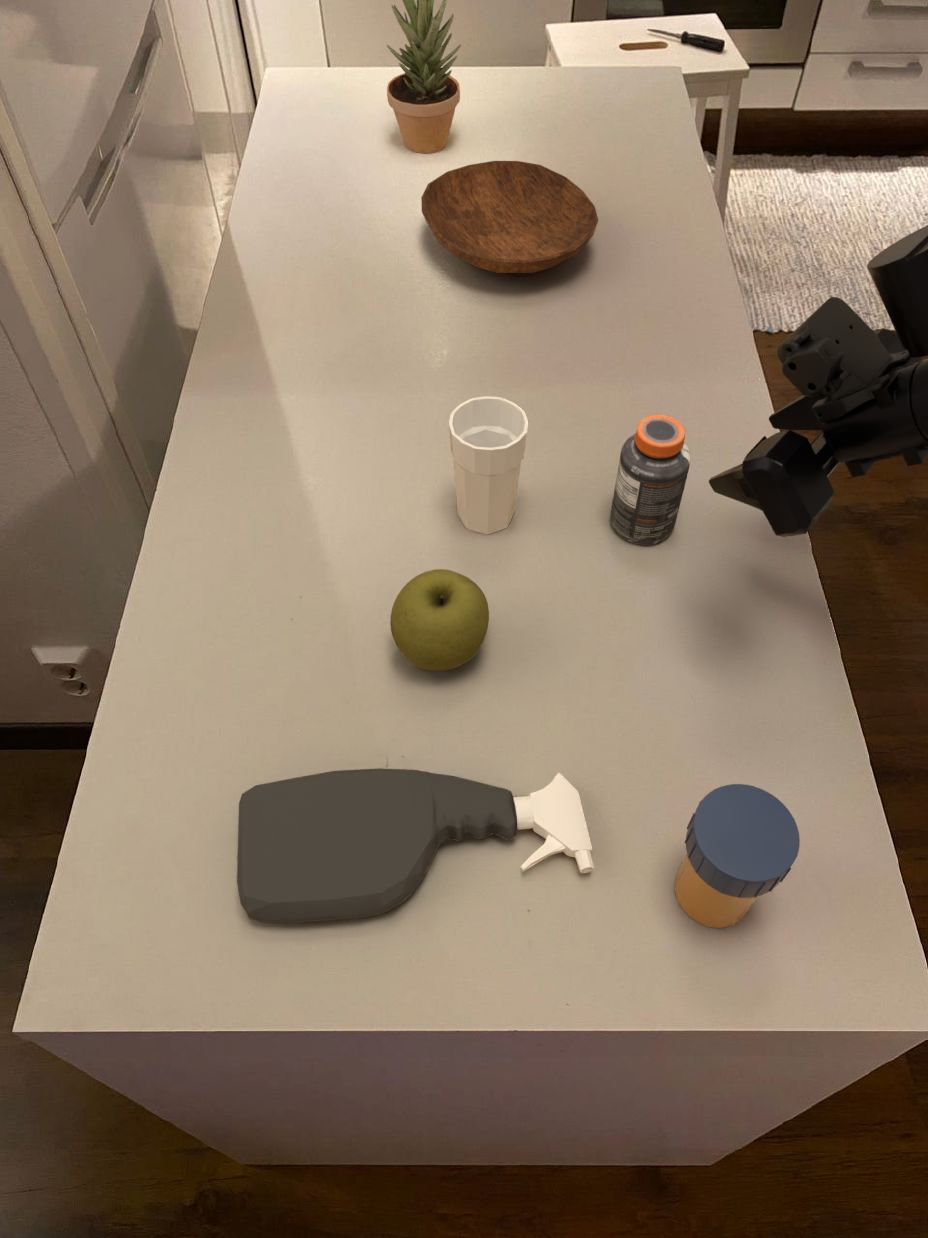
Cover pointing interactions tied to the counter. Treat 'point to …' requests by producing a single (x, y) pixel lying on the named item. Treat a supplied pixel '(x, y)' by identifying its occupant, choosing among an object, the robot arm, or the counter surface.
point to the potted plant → (424, 79)
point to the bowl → (509, 215)
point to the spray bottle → (380, 837)
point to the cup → (487, 460)
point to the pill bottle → (650, 481)
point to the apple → (439, 620)
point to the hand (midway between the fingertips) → (742, 452)
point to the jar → (707, 900)
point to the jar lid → (742, 840)
